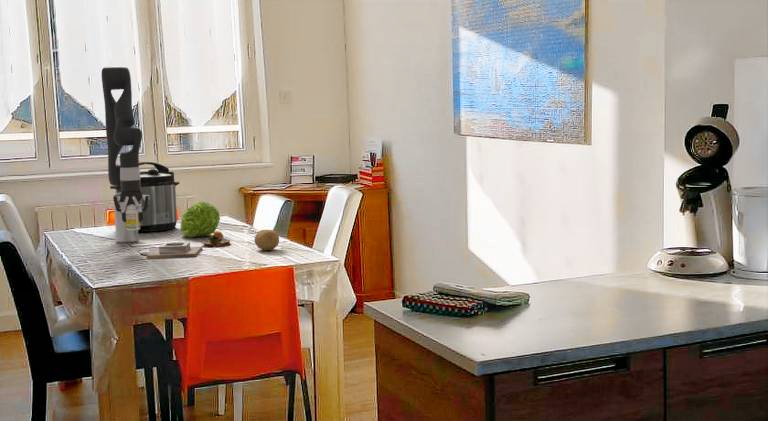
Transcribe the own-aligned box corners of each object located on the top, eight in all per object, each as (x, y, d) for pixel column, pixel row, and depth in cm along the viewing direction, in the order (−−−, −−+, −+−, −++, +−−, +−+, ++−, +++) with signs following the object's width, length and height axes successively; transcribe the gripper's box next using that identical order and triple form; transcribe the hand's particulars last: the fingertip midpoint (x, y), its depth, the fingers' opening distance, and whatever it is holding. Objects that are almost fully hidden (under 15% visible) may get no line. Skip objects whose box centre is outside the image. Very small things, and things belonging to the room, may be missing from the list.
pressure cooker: (182, 224, 438) (179, 159, 435) (179, 232, 410) (175, 162, 407) (118, 227, 433) (114, 161, 430) (110, 235, 406) (106, 165, 402)
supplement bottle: (131, 230, 349) (130, 206, 347) (123, 229, 352) (122, 205, 351) (143, 229, 353) (142, 204, 351) (135, 228, 356) (133, 203, 355)
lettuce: (174, 243, 401) (209, 243, 408) (187, 232, 379) (224, 232, 386) (173, 210, 404) (208, 211, 411) (186, 197, 382) (223, 198, 389)
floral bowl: (216, 242, 375) (215, 224, 374) (236, 244, 368) (235, 226, 367) (194, 246, 365) (193, 228, 364) (215, 248, 358) (214, 230, 357)
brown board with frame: (155, 251, 354) (155, 241, 354) (202, 249, 355) (201, 240, 355) (146, 258, 337) (146, 248, 336) (195, 256, 338) (194, 247, 337)
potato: (274, 246, 357) (273, 226, 356) (284, 251, 344) (283, 230, 343) (250, 248, 354) (249, 228, 353) (258, 253, 341) (258, 232, 340)
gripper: (151, 177, 354) (153, 220, 356) (113, 178, 353) (116, 221, 355) (147, 179, 346) (149, 222, 349) (109, 180, 345) (112, 223, 348)
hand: (133, 221), depth 352 cm, fingers closed on supplement bottle, 5 cm apart
